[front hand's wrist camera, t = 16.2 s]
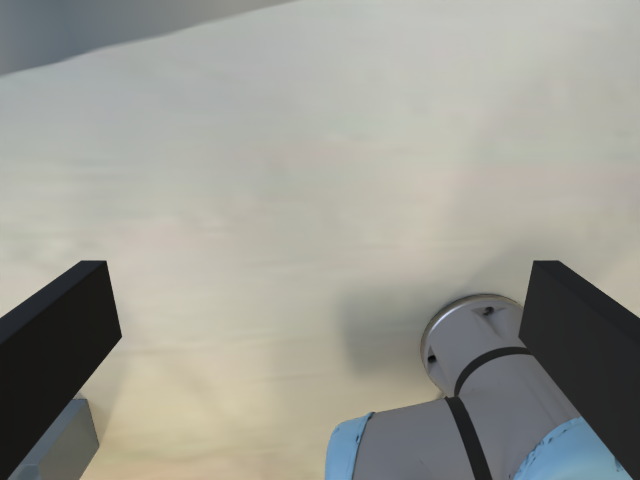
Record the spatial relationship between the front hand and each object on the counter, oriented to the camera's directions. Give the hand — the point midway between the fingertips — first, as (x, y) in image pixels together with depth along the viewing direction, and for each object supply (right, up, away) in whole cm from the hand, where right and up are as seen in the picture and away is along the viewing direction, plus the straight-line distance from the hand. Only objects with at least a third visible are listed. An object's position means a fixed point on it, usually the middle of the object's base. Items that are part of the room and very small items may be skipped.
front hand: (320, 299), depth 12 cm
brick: (-36, -25, +46) cm, 64 cm away
